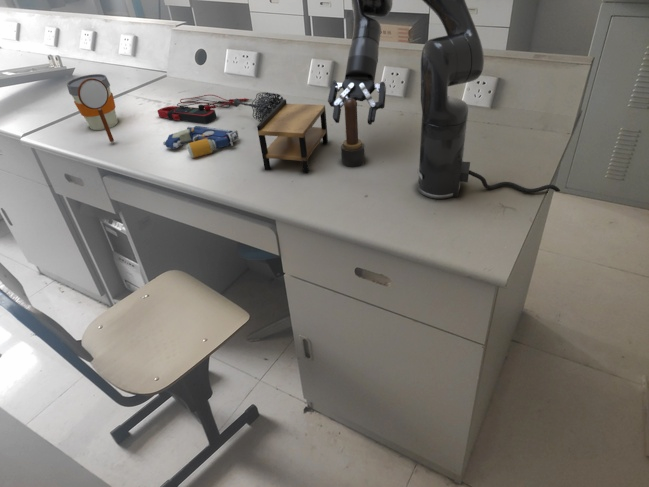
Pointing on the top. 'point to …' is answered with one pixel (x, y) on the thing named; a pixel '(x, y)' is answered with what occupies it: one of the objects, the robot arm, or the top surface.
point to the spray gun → (201, 139)
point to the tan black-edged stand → (292, 132)
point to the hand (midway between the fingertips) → (352, 122)
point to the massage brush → (262, 104)
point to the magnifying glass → (95, 99)
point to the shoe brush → (352, 137)
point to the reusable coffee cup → (93, 114)
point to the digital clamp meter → (194, 111)
